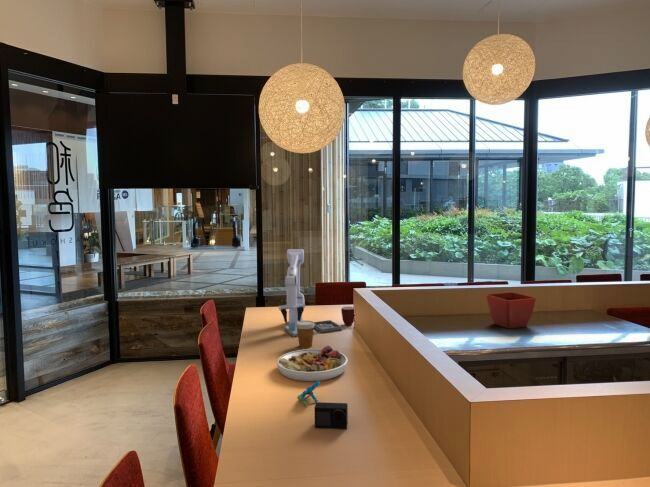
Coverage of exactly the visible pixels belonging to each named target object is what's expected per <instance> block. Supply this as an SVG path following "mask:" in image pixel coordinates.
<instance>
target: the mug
mask: <svg viewBox="0 0 650 487" xmlns="http://www.w3.org/2000/svg"><path fill="white" fill-rule="evenodd" d="M354 307H355V306H342V307H341V308H340V309H341V310H340V311H341V317H342V321H343V323H344V326H349V327H350V326H352V325H354V323H355V322H354V321H355V318H354V316H355V315H354Z"/></svg>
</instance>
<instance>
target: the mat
mask: <svg viewBox="0 0 650 487" xmlns="http://www.w3.org/2000/svg"><path fill="white" fill-rule="evenodd" d="M284 330H285V331H286V332H288V333H289V335H291V336H292V335H293V337H294V338H295V336H297V337H298V335H294V334H292V333H291V332H290V331H289V330H287V329H286V328H285V327H284ZM317 334H318V333H317V331H316V332H313V335H317Z"/></svg>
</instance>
